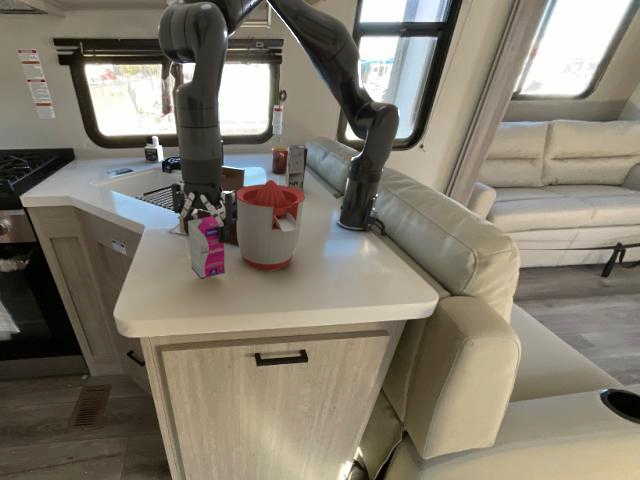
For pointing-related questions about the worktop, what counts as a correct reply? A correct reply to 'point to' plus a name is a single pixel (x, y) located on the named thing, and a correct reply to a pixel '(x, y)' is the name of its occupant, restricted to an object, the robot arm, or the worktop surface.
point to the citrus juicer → (268, 224)
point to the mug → (279, 159)
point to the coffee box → (296, 166)
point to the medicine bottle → (153, 150)
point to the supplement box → (205, 247)
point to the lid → (231, 180)
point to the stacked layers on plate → (181, 225)
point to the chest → (232, 227)
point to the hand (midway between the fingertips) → (206, 237)
